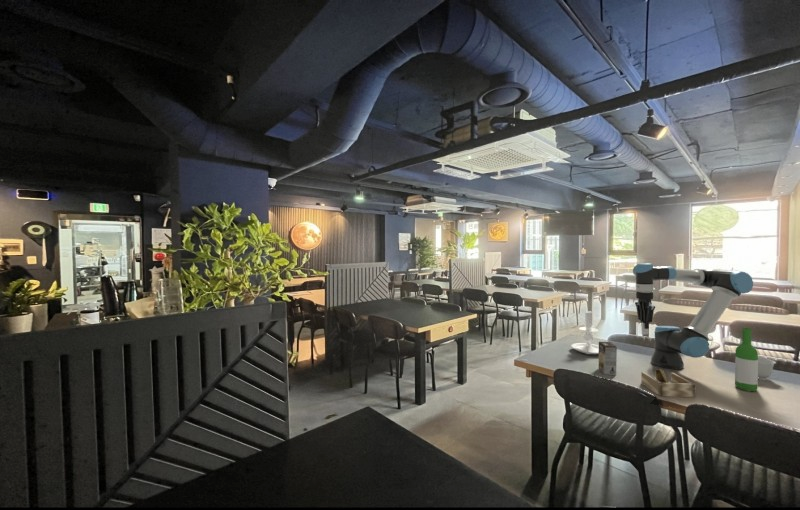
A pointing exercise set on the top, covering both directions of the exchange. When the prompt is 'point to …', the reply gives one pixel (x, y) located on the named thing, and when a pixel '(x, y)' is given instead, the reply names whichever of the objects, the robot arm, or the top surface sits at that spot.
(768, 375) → the teacup
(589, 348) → the candlestick
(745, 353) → the wine bottle
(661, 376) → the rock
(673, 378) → the box
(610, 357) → the coffee box
